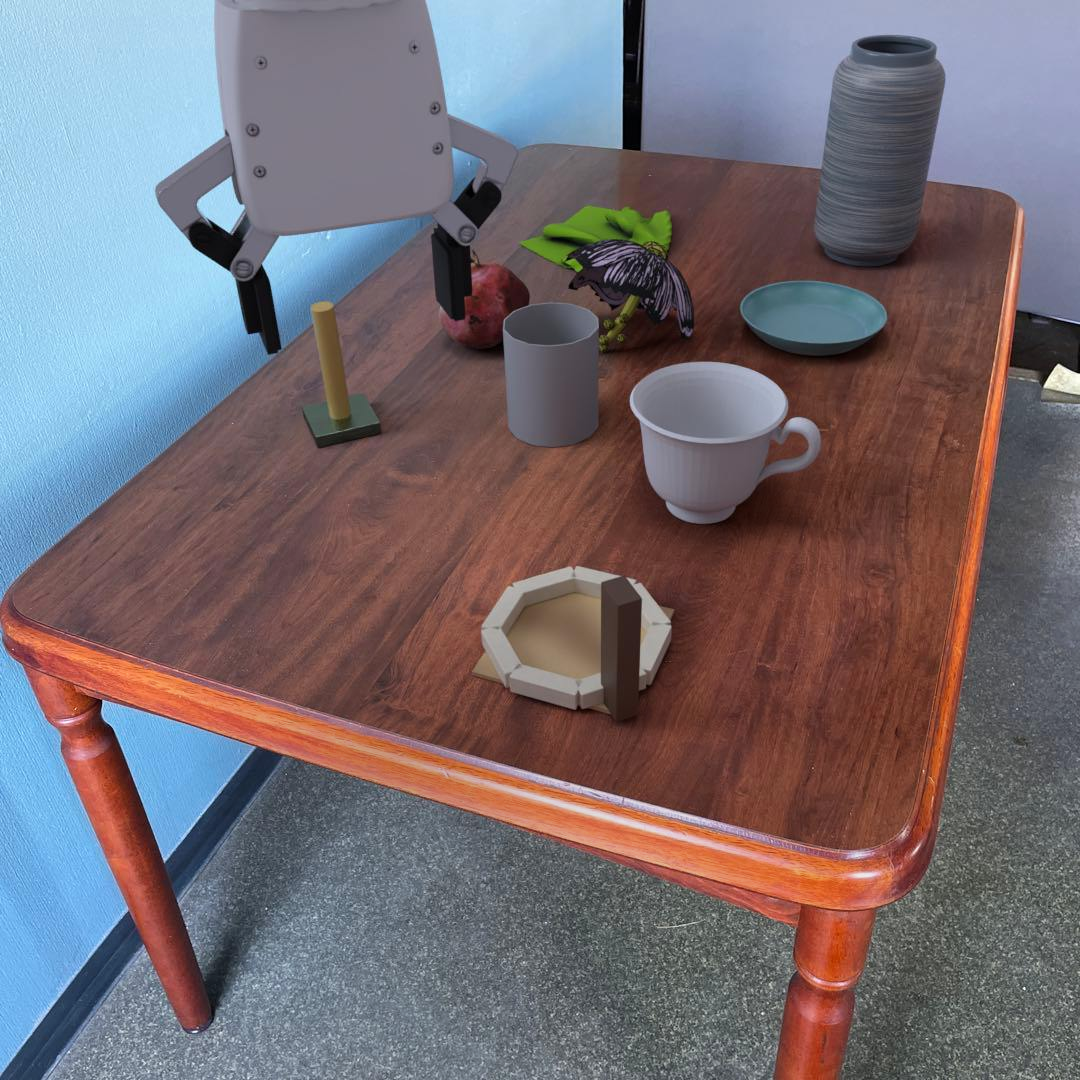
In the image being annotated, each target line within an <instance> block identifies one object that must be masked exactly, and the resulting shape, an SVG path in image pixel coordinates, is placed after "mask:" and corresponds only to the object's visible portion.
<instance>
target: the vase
mask: <svg viewBox="0 0 1080 1080" xmlns="http://www.w3.org/2000/svg"><path fill="white" fill-rule="evenodd" d="M937 51H938V47H937V44H936V43H935V42H933V41H932V40H929V39H926V38H923V37H919V36H911V35H901V34H878V35H876V34H875V35H869V36H864V37H861V38H858V39H856V40H854V41H852V44H851V47H850V54H849V55H847V56H846V57H844V58H843V59H842V60H841V61H840V62H839V64H838V65H837V66H836V69H835V70H834V74H833V77H832V84H831V90H830V91H831V92H830V99H829V108H828V115H827V121H826V122H827V123H826V130H825V139H824V146H823V154H822V162H821V170H820V175H819V176H820V177H819V185H818V191H817V201H816V206H815V207H816V209H815V215H814V222H813V231H814V235H815V238H816V240H817V242H818V243H819V244H820V246H821V247H822V248H823V252H824V253H825V255H826V256H828V258H830V259H832V260H834V261H835V262H838V263H842V264H845V265H849V266H857V267H877V266H884V265H887V264H891V263H892V262H895V261H896V260H897V259H898V258H899V256H900V255H901V254H903V253H904V252H905V251H906V250H907V249H908V248H910V247H911V245H912V244H913V242H914V241H915V239H916V236H917V232H918V228H919V223H920V218H921V212H922V208H923V201H924V198H925V197H924V196H925V192H926V186H927V180H928V176H929V171H930V165H931V159H932V155H933V154H932V153H933V149H934V145H935V144H934V143H935V139H936V133H937V129H938V123H939V118H940V112H941V107H942V102H943V96H944V92H945V87H946V72H945V68H944V66H943V65H942V63H941V62H940V60H938V59H937V58H936V57H937Z"/></svg>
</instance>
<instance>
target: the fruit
mask: <svg viewBox="0 0 1080 1080" xmlns="http://www.w3.org/2000/svg"><path fill="white" fill-rule="evenodd" d="M471 253H472V257H473V258H472V257H471V273H472V296H468V297H464V298H465V320H460V321H454V319H450V318H449V316H448V315H447V314H446V312H445V311H444V309H443V308H442V307H441V305H440V304H439V305H440V306H439V312H438V316H439V317H438V318H439V322H440V324H441V326H442V327H443V330H444V331H445V332H446V334H447V335H448V336H449V337H450V339H451V340H453V342H456V343H458V344H459V345H462V346H465V347H467V348H470V349H475V350H476V349H477V350H478V349H479V350H480V349H481V350H483V349H490V348H494V347H495V346H497V345H499V344H501V343H502V342H504V339H503V324H504V319H505V318H506V317H508V316H509V315H510V314H511V313H512V312H513V311H515V310H518V309H521V308H523V307H526V306H529V305H530V301H531V300H530V299H531V294H530V291H529V288H528V287H527V285H526V284H525V283H524V281H522V279H521V278H519V277H518V276H517V275H516V274H515V273H514V272H513V271H512V270H511V269H509V268H508V267H506V266H504V265H501V264H499V263H496V262H487V263H480V259H479V256H478V254H477V253H476V252H475V250H474V249H473V248H471Z"/></svg>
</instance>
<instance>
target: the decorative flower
mask: <svg viewBox="0 0 1080 1080" xmlns="http://www.w3.org/2000/svg"><path fill="white" fill-rule="evenodd" d="M566 256H568V257H567V259H566V260H565V261H568V260H571V259H574V258H575V259H576V261H577V262H578V263H579V264H580V265H582V267H583V268H582V269H581V270H580V271H579V272H576V274H575V275H574V276H573V278H572V279H571V280H570V282H569V284H568V286H567V290H573V291H578V290H579V289H581V288H583V287H587V286H589V288H590V290H592V291H594V292H595V293H594V296H596V297H597V298H598V297H599V302H601V303H602V302H603V303H607V305H608V307H610V311H611V312H613V311H615V310H616V309H617V308H619V307H620V306H622V305H623V304H624V303H625V305H624V306H623V309H622V310H621V312H620V314H619V316H616V317H615V319H614V320H613V319H610V318H609V319H608V318H607V319H605V320H604V322H603V326H604V328H605V330H609V331H608V333H607V334H601V335H599V351H600V352H601V353H607V352H609V349H610V345H609V342H610V341H612V340H613V339H614V338H615V337H616V341H617V343H618V344H619V345H623V344H625V343H627V341H628V336H627V334H626V333H620V332H621V331H623V329H624V328H625V327H626V326H627V324H628V322H629V321H630V319H631V317H632V316H633V314H634V313H635V311H636V310H638V311H639V310H643V314H644V315H646V317H647V318H649V320H650V321H651V322H652V323H653V324H654V325H655V326H659V325H661V324H662V323H664V322H665V321H666V319H667V318H668V316H669V314H670V312H671V310H672V308H673V309H674V311H676V317H677V324H678V331H679V335H680V337H681V339H682V341H684V340H690V339H691V338H692V334H693V333H692V332H693V331H694V328H695V310H694V309H695V308H694V303H693V297H692V294H691V291H690V288H689V286H688V284H687V281H686V279H685V278H684V276H683V274H682V273H681V271H680V270H679V269H678V268H677V267H676V266H675V265H674V264H673V263H672V262H671V261H669V254H668V250H667V251H666V248H665V247H664V246H662V245H661V244H660V243H657V242H655V241H654V242H652V241H649V242H645V243H644V244H642V245H640V244H638V243H636V242H633V241H628V240H621V239H609V240H602V241H598V242H594V243H590V244H588V245H585V246H583V247H580V248H578V249H576V250H574V251H572V252H571V253H569V254H568V255H566ZM565 261H564V262H565Z"/></svg>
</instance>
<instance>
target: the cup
mask: <svg viewBox="0 0 1080 1080" xmlns="http://www.w3.org/2000/svg"><path fill="white" fill-rule="evenodd" d="M599 329H600V327H599V317H598V316H597V315H596V314H594V312H592V311H591V310H590V309H588V308H585V307H582V306H579V305H577V304H574V303H564V302H553V301H552V302H551V301H550V302H543V303H533V304H529V306H526V307H523V308H521V309H518V310H515V311H513V312H512V313H511V314H510V315H509V316H508V317H506V318H505V319H504V324H503V339H504V341H503V354H504V369H505V371H504V375H505V389H506V405H507V406H506V408H507V424H508V425H507V426H508V427H507V428H508V431H510V433H511V434H512V435H513V436H514V437H515V438H516V439H517V440H518V441H521V442H524V443H526V444H529V445H530V446H536V447H545V448H558V447H565V446H566V447H567V446H573V445H576V444H578V443H580V442H582V441H585V440H587V439H589V438H591V437H592V436H593V434H594V433H595V432H596V431H597V429H598V428H599V381H600V380H599V372H600V371H599V370H600V369H599V367H600V365H599V363H600V362H599V361H600V359H599V353H600V352H599V351H600V350H599V344H600V343H599V337H600V335H599V331H600V330H599Z"/></svg>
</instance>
